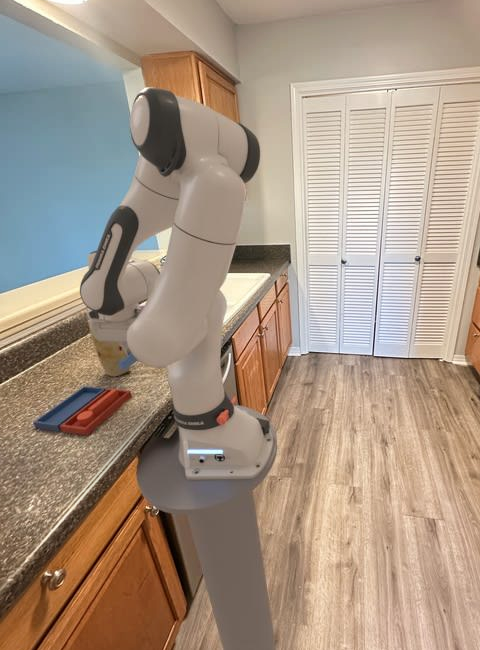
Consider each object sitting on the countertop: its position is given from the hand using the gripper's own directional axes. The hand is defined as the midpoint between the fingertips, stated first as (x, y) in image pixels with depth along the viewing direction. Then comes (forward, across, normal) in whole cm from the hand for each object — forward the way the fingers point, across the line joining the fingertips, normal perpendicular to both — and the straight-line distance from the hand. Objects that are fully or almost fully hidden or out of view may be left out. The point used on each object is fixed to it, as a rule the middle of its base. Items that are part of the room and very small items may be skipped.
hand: (135, 354), depth 91 cm
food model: (+12, +17, -8) cm, 23 cm away
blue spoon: (+2, 0, -1) cm, 2 cm away
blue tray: (+12, +15, +11) cm, 22 cm away
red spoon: (+12, +7, +10) cm, 17 cm away
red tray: (+12, +7, +11) cm, 18 cm away
